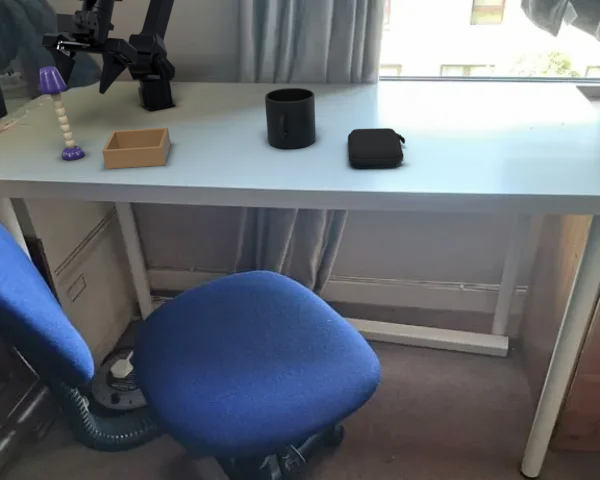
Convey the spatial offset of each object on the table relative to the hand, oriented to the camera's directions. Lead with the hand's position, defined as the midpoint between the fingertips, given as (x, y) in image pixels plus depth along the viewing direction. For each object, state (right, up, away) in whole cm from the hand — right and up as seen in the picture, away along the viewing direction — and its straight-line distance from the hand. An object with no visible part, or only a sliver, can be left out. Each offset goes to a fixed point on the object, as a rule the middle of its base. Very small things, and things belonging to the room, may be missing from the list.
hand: (81, 91), depth 122 cm
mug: (+41, -10, 0) cm, 42 cm away
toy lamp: (-1, -13, -1) cm, 13 cm away
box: (+12, -13, -3) cm, 18 cm away
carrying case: (+57, -14, -7) cm, 59 cm away
